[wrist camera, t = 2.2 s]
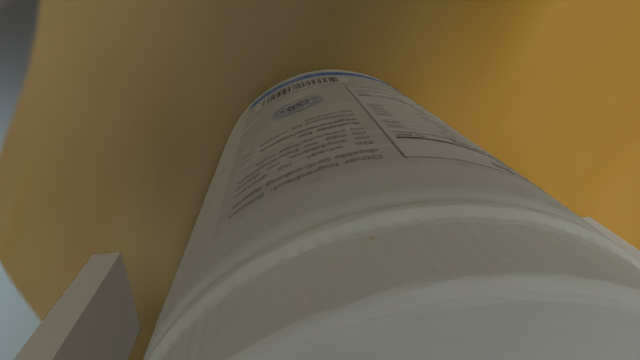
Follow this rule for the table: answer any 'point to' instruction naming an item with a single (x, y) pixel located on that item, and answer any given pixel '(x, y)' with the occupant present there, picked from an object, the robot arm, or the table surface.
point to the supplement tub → (386, 244)
